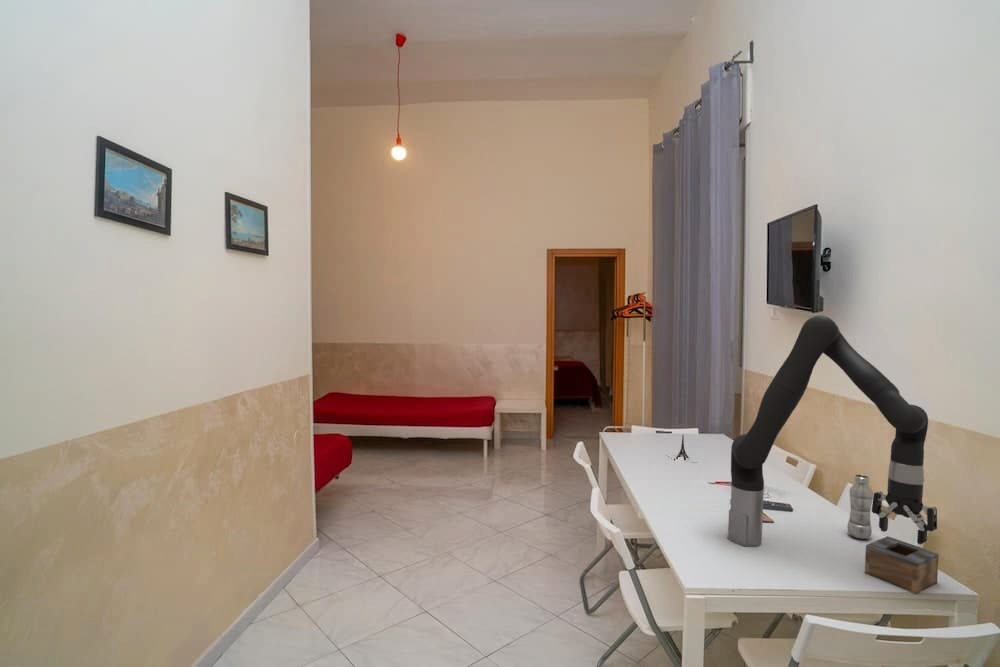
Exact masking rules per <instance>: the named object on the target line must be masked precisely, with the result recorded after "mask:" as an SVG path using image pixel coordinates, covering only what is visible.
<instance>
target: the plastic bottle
mask: <svg viewBox="0 0 1000 667" xmlns="http://www.w3.org/2000/svg"><path fill="white" fill-rule="evenodd" d="M869 479H870V477H869V476H868V475H863V474H855V475H854V482H855V483H853V485H852V486H851V487H850V488H849V501H850V512H849V519H848V523H847V532H848V534H849V535H850V536H851V537H853V538H856V539H860V540H869V539H870V538H871V536H872V533H873V532H872V525H871V511H872V504H873V497H874V491H873V490H872V488H871V487H870V485H869V484H870V480H869Z"/></svg>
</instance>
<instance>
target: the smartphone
mask: <svg viewBox="0 0 1000 667" xmlns="http://www.w3.org/2000/svg"><path fill="white" fill-rule="evenodd" d="M774 523H775V521H774V520H773V519H772V518H770V517H769V516H768V515H767V514H766V513H764V512H763V520H762V524H774Z"/></svg>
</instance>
